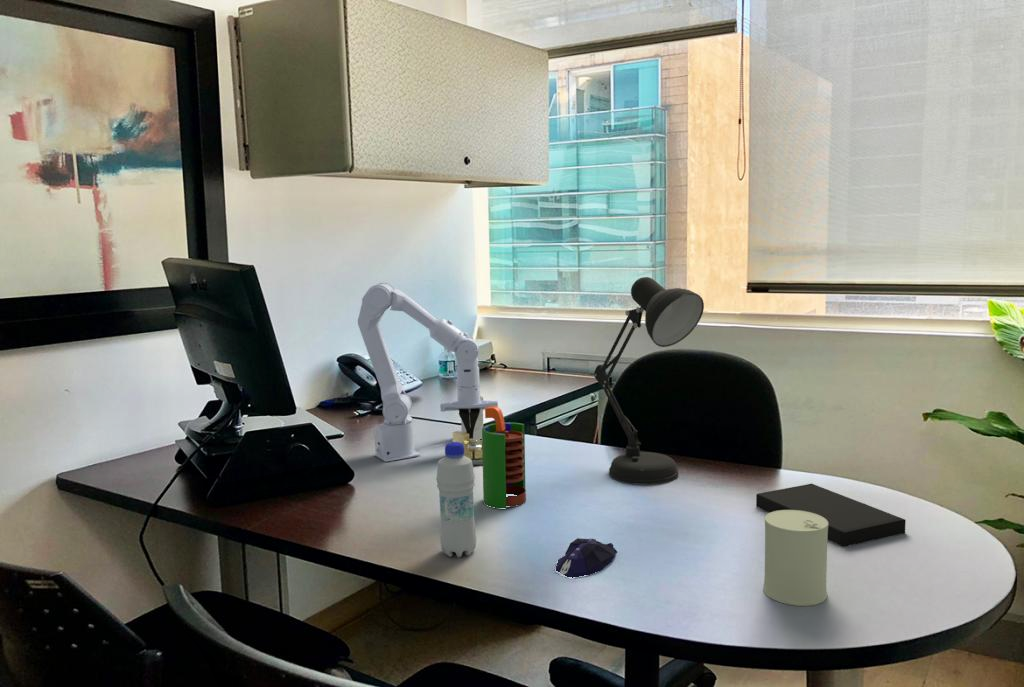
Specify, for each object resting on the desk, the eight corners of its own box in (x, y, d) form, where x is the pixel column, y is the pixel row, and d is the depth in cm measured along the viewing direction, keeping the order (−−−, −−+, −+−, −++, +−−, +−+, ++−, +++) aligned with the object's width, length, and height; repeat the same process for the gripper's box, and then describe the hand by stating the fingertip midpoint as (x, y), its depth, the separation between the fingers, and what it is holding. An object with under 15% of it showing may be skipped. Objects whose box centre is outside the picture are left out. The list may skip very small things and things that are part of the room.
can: (803, 612, 116) (804, 533, 114) (750, 590, 123) (751, 515, 122) (839, 594, 121) (841, 518, 120) (787, 574, 129) (788, 502, 127)
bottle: (458, 542, 146) (453, 435, 144) (485, 550, 142) (481, 440, 139) (431, 554, 141) (426, 444, 139) (459, 563, 137) (454, 449, 134)
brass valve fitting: (489, 459, 193) (488, 442, 193) (441, 457, 197) (440, 440, 196) (502, 447, 204) (502, 431, 203) (456, 445, 207) (455, 429, 206)
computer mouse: (534, 571, 134) (534, 548, 133) (587, 543, 145) (587, 522, 144) (579, 585, 128) (578, 561, 127) (631, 555, 139) (630, 533, 138)
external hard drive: (843, 549, 139) (844, 532, 138) (756, 508, 160) (756, 493, 160) (905, 535, 144) (905, 519, 143) (812, 497, 165) (812, 483, 165)
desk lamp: (703, 494, 168) (703, 279, 161) (580, 489, 174) (576, 281, 167) (704, 461, 191) (704, 272, 185) (596, 457, 197) (592, 274, 191)
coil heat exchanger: (521, 510, 162) (518, 413, 159) (478, 508, 164) (474, 413, 161) (530, 494, 172) (527, 402, 169) (489, 492, 174) (486, 402, 171)
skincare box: (460, 437, 221) (458, 394, 220) (475, 434, 224) (473, 392, 222) (470, 442, 216) (468, 398, 214) (485, 439, 218) (483, 395, 216)
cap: (463, 469, 191) (463, 455, 191) (440, 456, 203) (440, 443, 202) (510, 460, 198) (510, 446, 197) (486, 448, 209) (485, 435, 208)
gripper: (497, 381, 207) (499, 432, 209) (441, 383, 207) (443, 434, 209) (496, 386, 200) (498, 439, 202) (438, 388, 200) (441, 441, 202)
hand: (470, 437), depth 205 cm, fingers closed
